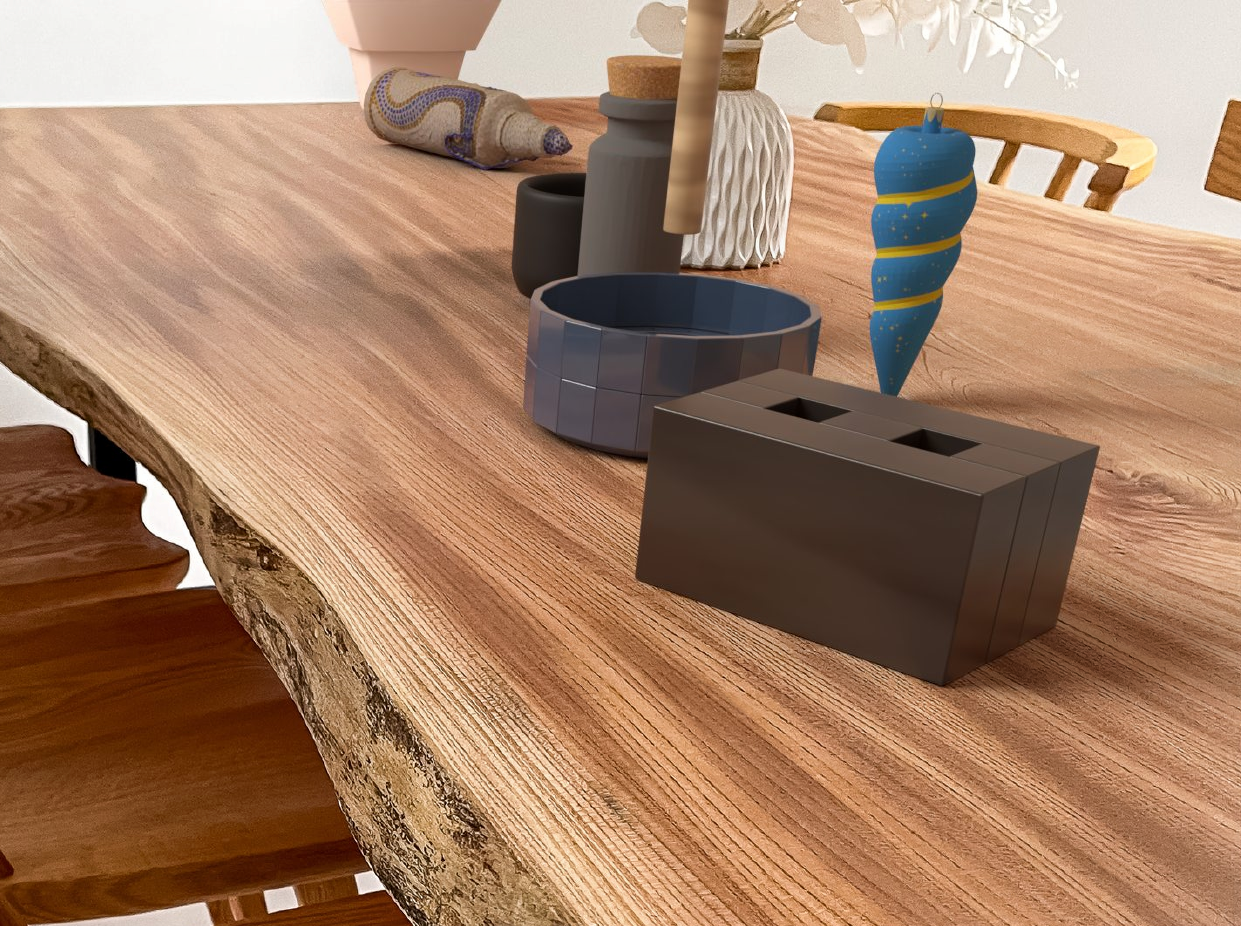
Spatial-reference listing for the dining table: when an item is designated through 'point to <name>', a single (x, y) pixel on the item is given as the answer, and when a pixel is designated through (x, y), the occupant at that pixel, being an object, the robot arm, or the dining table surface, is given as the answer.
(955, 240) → the ornament
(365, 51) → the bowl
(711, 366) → the mixing bowl
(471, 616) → the dining table surface
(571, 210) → the mug
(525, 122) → the decorative bottle
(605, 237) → the bottle
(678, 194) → the stirring stick
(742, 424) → the utensil block
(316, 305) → the dining table surface
